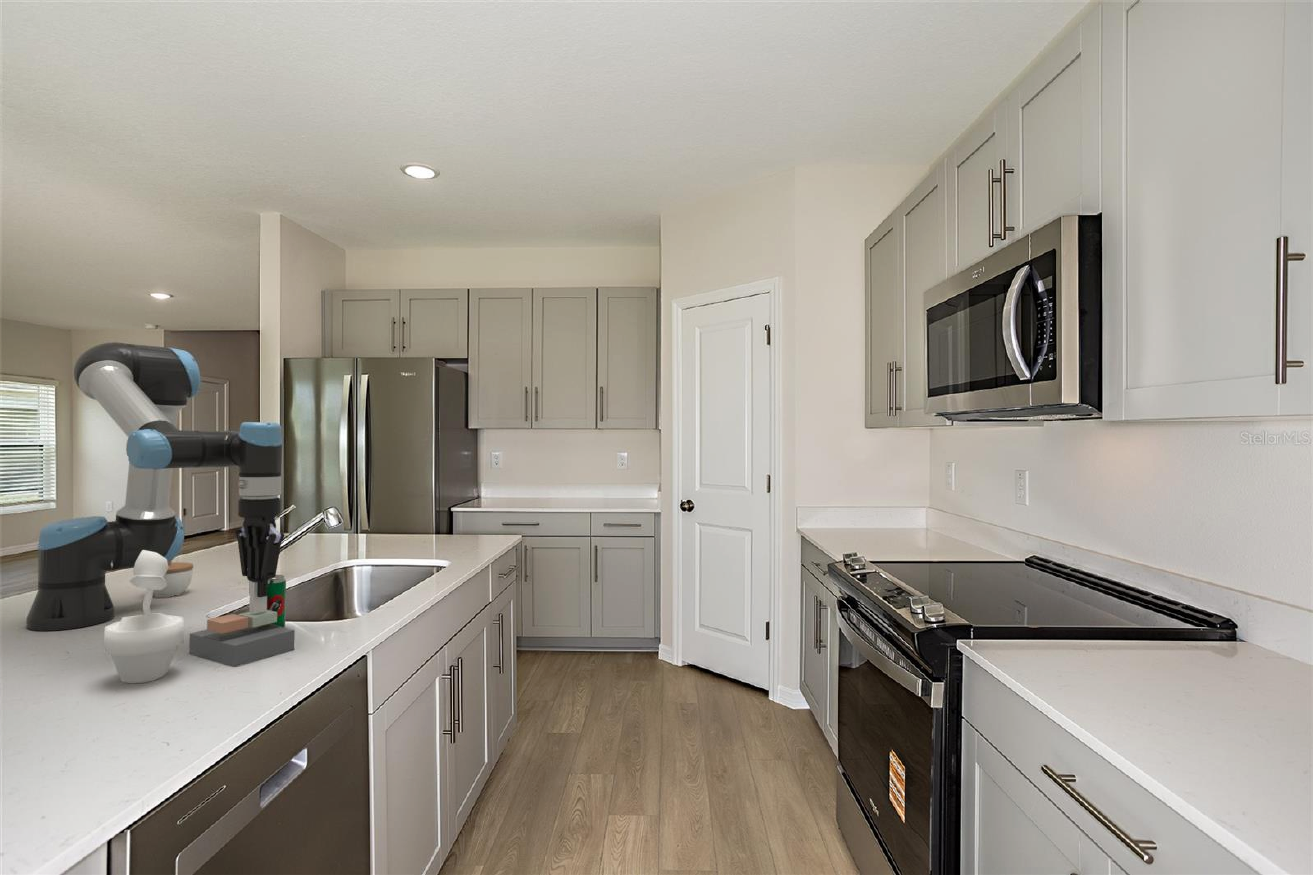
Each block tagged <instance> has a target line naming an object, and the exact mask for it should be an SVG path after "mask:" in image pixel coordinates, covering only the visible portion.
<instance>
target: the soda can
mask: <svg viewBox="0 0 1313 875" xmlns="http://www.w3.org/2000/svg"><path fill="white" fill-rule="evenodd" d="M286 594H287V579H286V578H285V575H284V574H283V575H282V574H276V576H275V577H274V578H271V579H269V580H268V594H267V610H270V611H274V612H277V622H274V623H270V624H274V625H278V626H280V627H284V628H286V612H287V611H286V605H287V604H286V601H287V600H286V598H287V596H286Z"/></svg>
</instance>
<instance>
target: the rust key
mask: <svg viewBox="0 0 1313 875" xmlns="http://www.w3.org/2000/svg"><path fill="white" fill-rule="evenodd" d="M247 627H248V617H245V616H240V615H238V614H235V613H232V614H226V615H222V616H218V617H217V616H216V617H213V618H209V619H206V630H210V631H214V632H217V633H221V634H223V633H227V632H231V631H235V630H239V629H243V628H247Z"/></svg>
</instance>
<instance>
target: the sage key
mask: <svg viewBox="0 0 1313 875" xmlns="http://www.w3.org/2000/svg"><path fill="white" fill-rule="evenodd" d="M237 615H240V616H245V617H248V627H252V628H254V627H258V626H262V625H266V624H270V623H274V622H277V612H274V611H270V610H267V611H265V612H261V613H256V614H251V613H249V611H247V612H241V613H238V614H237Z"/></svg>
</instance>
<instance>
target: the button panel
mask: <svg viewBox="0 0 1313 875" xmlns="http://www.w3.org/2000/svg"><path fill="white" fill-rule="evenodd" d="M295 634H296V633H295V629H293V628H288V627H280V626H278V625H274V624H266V625H262V626H258V627H254V628H252V627H247V628H243V629H239V630H235V631H231V632H227V633H223V634H221V633H217V632H214V631H210V630H207V629H203V630H201V631H200V630H198V631H196V632H191V633H189V641H188V642H189V645H188V646H189V647H188V648H189V652H188V654H190V655H193V656H196V657H199V658H203V659H206V660H209V661H213V662H216V663H220V664H223V665H227V666H230V667H233V668H235V667H239V666H242V665H245V664H249V663H250V664H251V663H253V662H255V661H259V660H264V659H267V658H269V657H273V656H277V655H280V654H284V653H286V652H292V651H294V650H295Z"/></svg>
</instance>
